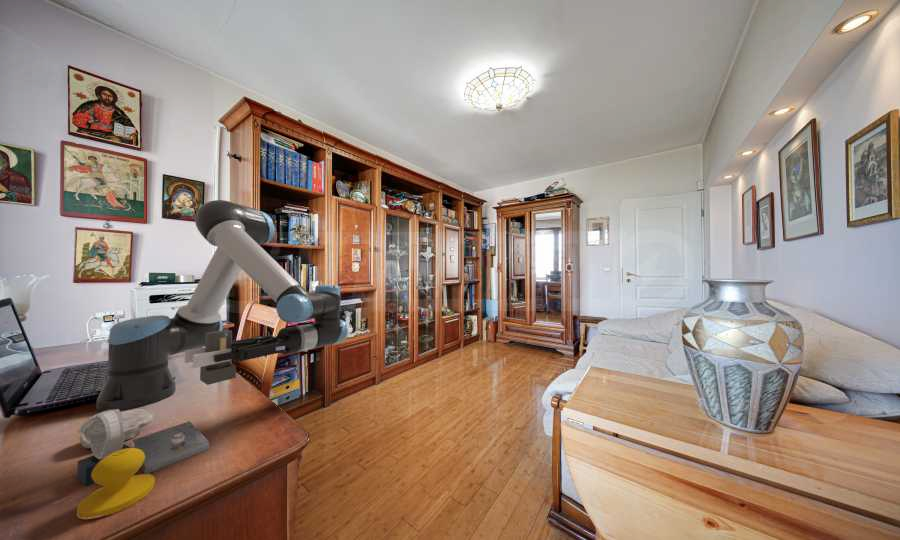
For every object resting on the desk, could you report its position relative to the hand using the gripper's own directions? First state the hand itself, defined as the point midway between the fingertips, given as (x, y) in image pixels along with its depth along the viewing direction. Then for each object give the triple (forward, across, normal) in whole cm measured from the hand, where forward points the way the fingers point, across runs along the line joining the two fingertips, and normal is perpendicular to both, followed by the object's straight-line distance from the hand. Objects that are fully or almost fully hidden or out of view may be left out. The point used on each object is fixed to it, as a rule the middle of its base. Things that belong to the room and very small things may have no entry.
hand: (189, 359), depth 60 cm
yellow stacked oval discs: (+11, -11, -18) cm, 24 cm away
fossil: (+8, +14, -18) cm, 25 cm away
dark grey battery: (-5, 0, -6) cm, 8 cm away
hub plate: (+3, 0, -18) cm, 18 cm away
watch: (+11, 0, -18) cm, 21 cm away
